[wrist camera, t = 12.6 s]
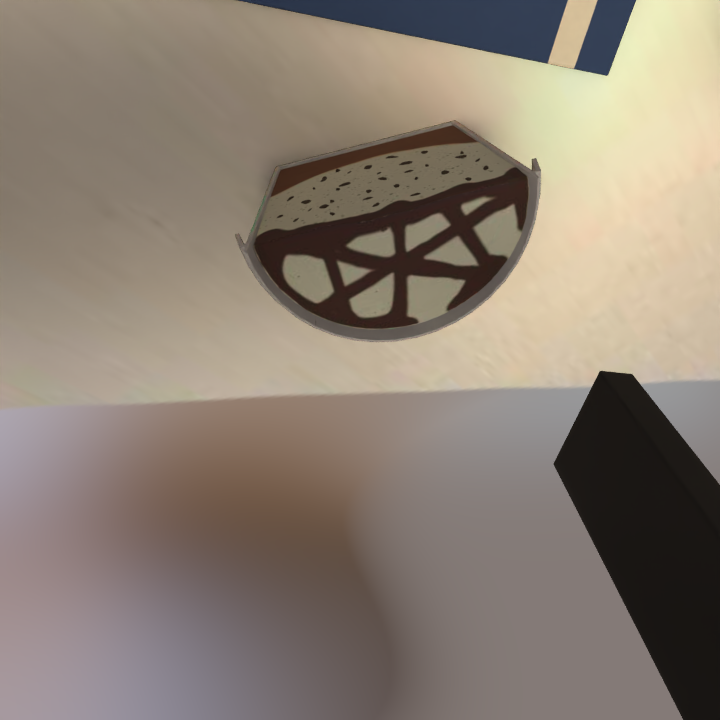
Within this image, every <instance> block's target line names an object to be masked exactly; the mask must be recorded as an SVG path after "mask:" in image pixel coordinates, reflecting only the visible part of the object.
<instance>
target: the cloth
mask: <svg viewBox="0 0 720 720" xmlns="http://www.w3.org/2000/svg"><path fill="white" fill-rule="evenodd" d="M239 1H244V2H249V3H254V4H258V5H263V6H268V7H273V8H278V9H283V10H288V11H293V12H298V13H303V14H307V15H312V16H317V17H322V18H327V19H332V20H337V21H342V22H347V23H352V24H356V25H361V26H366V27H371V28H376V29H381V30H386V31H391V32H396V33H401V34H405V35H410V36H415V37H420V38H425V39H430V40H435V41H440V42H445V43H450V44H454V45H459V46H464V47H469V48H474V49H479V50H484V51H489V52H494V53H499V54H503V55H508V56H513V57H518V58H523V59H528V60H533V61H538V62H543V63H548V64H552V65H557V66H562V67H567V68H572V69H577V70H582V71H587V72H592V73H597V74H601V75H606V76H607V75H608V73H609V71H610V68H611V65H612V63H613V60H614V57H615V55H616V52H617V49H618V47H619V44H620V41H621V39H622V36H623V33H624V31H625V28H626V25H627V23H628V20H629V18H630V15H631V12H632V10H633V7H634V4H635V2H636V0H239Z"/></svg>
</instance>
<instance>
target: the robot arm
mask: <svg viewBox="0 0 720 720" xmlns="http://www.w3.org/2000/svg"><path fill="white" fill-rule="evenodd" d="M554 466H555V468H556V470H557V472H558V474H559V476H560V478H561V479H562V482H563V484H564V486H565V488H566V490H567V491H568V493H569V496H570V497H571V499H572V501H573V503H574V505H575V507H576V509H577V511H578V513H579V515H580V517H581V519H582V521H583V523H584V525H585V527H586V529H587V531H588V533H589V535H590V537H591V539H592V541H593V543H594V545H595V547H596V549H597V551H598V553H599V555H600V557H601V559H602V561H603V563H604V564H605V566H606V568H607V570H608V572H609V574H610V576H611V578H612V580H613V582H614V584H615V586H616V588H617V590H618V592H619V594H620V596H621V598H622V600H623V602H624V604H625V606H626V608H627V610H628V612H629V614H630V616H631V618H632V620H633V622H634V624H635V626H636V627H637V629H638V631H639V633H640V635H641V637H642V639H643V641H644V643H645V645H646V647H647V649H648V651H649V653H650V655H651V657H652V659H653V661H654V663H655V665H656V667H657V669H658V671H659V673H660V675H661V677H662V679H663V681H664V683H665V685H666V686H667V689H668V691H669V692H670V694H671V696H672V698H673V700H674V702H675V704H676V706H677V708H678V710H679V712H680V714H681V716H682V718H683V720H720V485H719V483H718V482H717V481H716V480H715V478H714V477H713V476H712V475H711V473H710V472H709V471H708V469H707V468H706V467H705V466H704V464H703V463H702V462H701V461H700V459H699V458H698V457H697V456H696V454H695V453H694V452H693V451H692V449H691V448H690V447H689V445H688V444H687V443H686V442H685V440H684V439H683V438H682V437H681V435H680V434H679V433H678V432H677V431H676V429H675V428H674V426H673V425H672V424H671V423H670V422H669V420H668V419H667V418H666V416H665V415H664V414H663V413H662V411H661V410H660V409H659V408H658V406H657V405H656V404H655V402H654V401H653V400H652V399H651V397H650V396H649V395H648V394H647V392H646V391H645V390H644V389H643V387H642V386H641V385H640V383H639V382H638V381H637V380H636V378H635V377H634V376H633V375H632V374H625V373H616V372H606V371H600V372H599V374H598V376H597V378H596V380H595V382H594V384H593V386H592V388H591V390H590V392H589V394H588V396H587V398H586V400H585V402H584V404H583V406H582V408H581V410H580V412H579V414H578V416H577V418H576V420H575V422H574V424H573V426H572V428H571V430H570V432H569V435H568V436H567V438H566V440H565V442H564V444H563V446H562V448H561V450H560V452H559V454H558V456H557V458H556V460H555V462H554Z"/></svg>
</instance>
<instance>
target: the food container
mask: <svg viewBox="0 0 720 720" xmlns="http://www.w3.org/2000/svg"><path fill="white" fill-rule="evenodd" d="M540 186H541V169H540V167H539V164H538V162H537V159H536V158H535V159H532V170H530V169H529V168H527V167H526V166H524V165H523V164H521V163H520V162H518V161H517V160H515V159H513V158H512V157H510V156H509V155H507V154H506V153H504V152H503V151H501V150H500V149H498V148H497V147H495V146H494V145H492V144H491V143H489V142H487V141H486V140H484V139H483V138H481V137H480V136H478V135H477V134H475V133H474V132H472V131H471V130H469V129H468V128H466V127H465V126H463V125H461V124H460V123H458V122H457V121H455V120H454V121H450V122H447V123H443V124H439V125H435V126H431V127H427V128H423V129H420V130H416V131H412V132H408V133H404V134H400V135H396V136H393V137H389V138H385V139H381V140H377V141H373V142H370V143H366V144H362V145H358V146H354V147H350V148H346V149H343V150H339V151H335V152H331V153H327V154H323V155H320V156H316V157H312V158H308V159H304V160H300V161H296V162H293V163H289V164H285V165H281V166H277V167H276V168H275V171H274V173H273V176H272V178H271V181H270V184H269V186H268V189H267V191H266V194H265V196H264V199H263V202H262V204H261V207H260V209H259V212H258V214H257V217H256V219H255V222H254V225H253V227H252V230H251V232H250V235H249V237H248V240H247V243H246V244H244V243H243V241H242V239H241V237H240V235H239V234H236V235H235V236H236V239H237V242H238V245H239V248H240V250H241V252H242V254H243V256H244V258H245V260H246V263H247V265H248V267H249V268H250V270H251V271H252V273H253V274H254V276H255V277H256V279H257V280H258V282H259V283H260V285H261V286H262V287H263V288H264V289H265V290H266V291H267V292H268V293H269V294H270V295H271V296H272V298H273V299H274V300H275V301H276V302H278V303H279V304H280V305H281V306H282V307H284V308H285V309H286V310H288V311H289V312H290V313H291V314H293V315H294V316H295V317H296V318H298V319H300V320H302V321H303V322H305V323H307V324H309V325H310V326H312V327H314V328H316V329H319V330H321V331H324V332H326V333H329V334H331V335H334V336H338V337H343V338H347V339H351V340H357V341H368V342H392V341H400V340H406V339H412V338H417V337H420V336H423V335H426V334H430V333H433V332H436V331H438V330H440V329H443V328H445V327H447V326H449V325H451V324H453V323H455V322H457V321H459V320H460V319H462V318H463V317H465V316H467V315H468V314H470V313H471V312H473V311H474V310H475V309H477V308H478V307H479V306H480V305H482V304H483V303H484V302H485V301H486V300H488V299H489V298H490V297H491V296H492V295H493V294H494V293H495V292H496V290H497V289H498V288H499V287H500V286H501V285H502V284H503V283H504V282H505V281H506V279H507V278H508V276H509V275H510V273H511V272H512V271H513V269H514V268H515V266H516V265H517V263H518V262H519V260H520V258H521V256H522V254H523V252H524V250H525V248H526V246H527V244H528V241H529V238H530V235H531V232H532V229H533V226H534V224H535V220H536V214H537V209H538V203H539V198H540Z"/></svg>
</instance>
